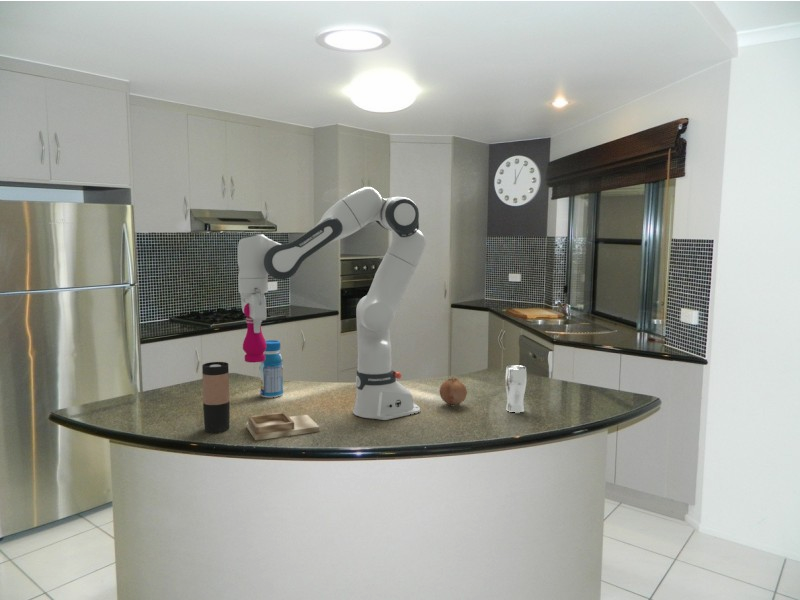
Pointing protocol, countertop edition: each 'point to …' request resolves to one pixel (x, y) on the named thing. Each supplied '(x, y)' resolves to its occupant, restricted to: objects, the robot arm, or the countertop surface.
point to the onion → (453, 391)
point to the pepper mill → (253, 341)
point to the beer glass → (515, 387)
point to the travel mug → (216, 396)
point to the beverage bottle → (271, 371)
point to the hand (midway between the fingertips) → (254, 331)
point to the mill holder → (280, 425)
